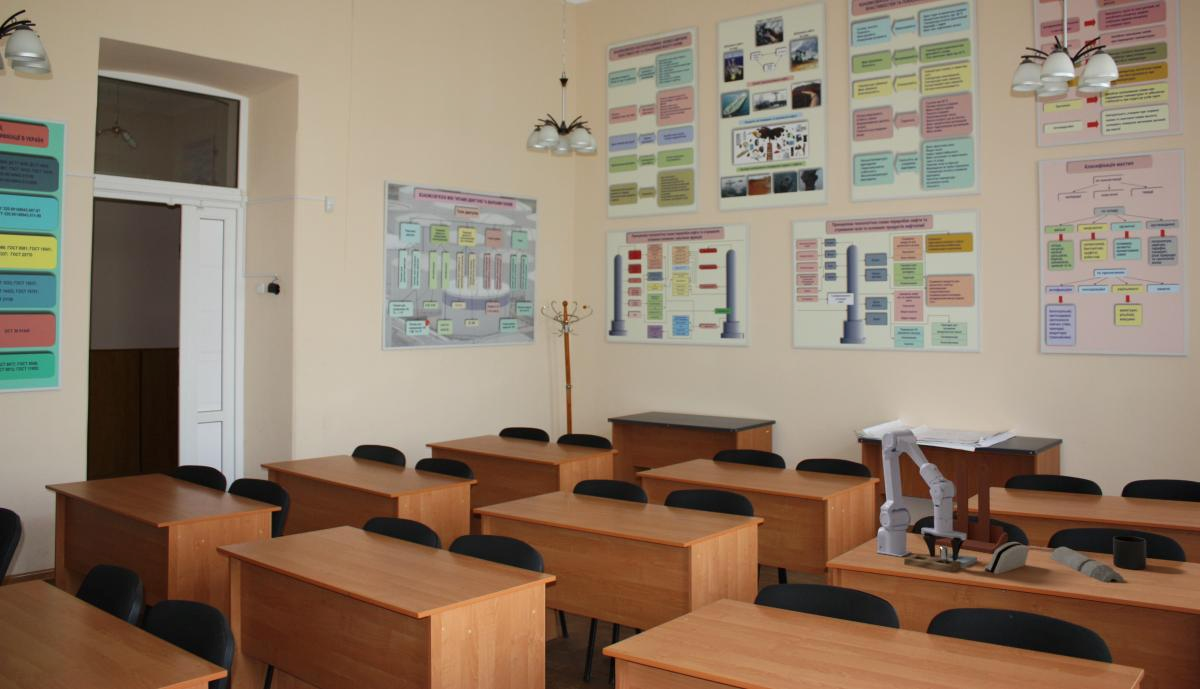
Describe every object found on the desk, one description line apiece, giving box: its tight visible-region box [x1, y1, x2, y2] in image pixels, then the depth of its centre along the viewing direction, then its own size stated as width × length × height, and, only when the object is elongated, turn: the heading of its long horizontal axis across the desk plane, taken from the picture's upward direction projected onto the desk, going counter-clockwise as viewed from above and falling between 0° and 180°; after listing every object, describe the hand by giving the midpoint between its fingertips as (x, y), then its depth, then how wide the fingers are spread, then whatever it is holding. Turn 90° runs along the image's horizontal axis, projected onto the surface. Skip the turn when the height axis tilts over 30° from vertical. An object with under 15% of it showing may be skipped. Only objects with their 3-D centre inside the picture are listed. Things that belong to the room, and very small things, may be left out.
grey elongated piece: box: [1050, 546, 1124, 583], centre depth 307 cm, size 9×4×30 cm
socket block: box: [937, 551, 978, 568], centre depth 319 cm, size 10×10×2 cm
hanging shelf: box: [935, 460, 1009, 555], centre depth 342 cm, size 24×13×30 cm, turn 43°
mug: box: [1112, 535, 1147, 571], centre depth 310 cm, size 9×12×9 cm
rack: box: [903, 553, 962, 573], centre depth 315 cm, size 16×8×2 cm, turn 46°
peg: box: [939, 545, 949, 564], centre depth 312 cm, size 3×3×7 cm
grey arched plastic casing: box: [983, 541, 1029, 575], centre depth 309 cm, size 17×5×10 cm, turn 126°
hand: (943, 558), depth 312 cm, fingers open, 7 cm apart
